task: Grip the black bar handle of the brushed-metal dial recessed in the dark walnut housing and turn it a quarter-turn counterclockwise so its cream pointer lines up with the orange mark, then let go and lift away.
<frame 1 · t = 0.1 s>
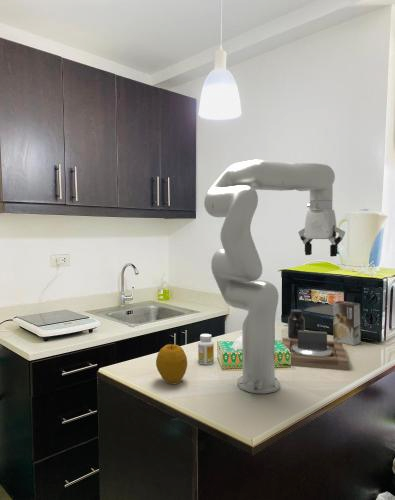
hand: (320, 255, 133), 37 cm above the worktop, tool pointing down, fingers open, 9 cm apart
dial: (312, 342, 138), point 5 cm above the worktop, hinge at 0.0°
supplement bottle: (296, 338, 162), on the worktop
supplement bottle 2: (206, 362, 134), on the worktop
dial housing: (312, 356, 139), on the worktop
apple: (171, 382, 117), on the worktop
coffee box: (346, 342, 156), on the worktop
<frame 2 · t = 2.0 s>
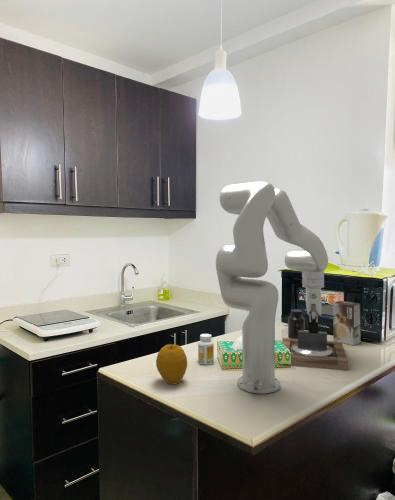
hand: (313, 329, 139), 10 cm above the worktop, tool pointing down, fingers open, 9 cm apart
nothing on the worktop moved.
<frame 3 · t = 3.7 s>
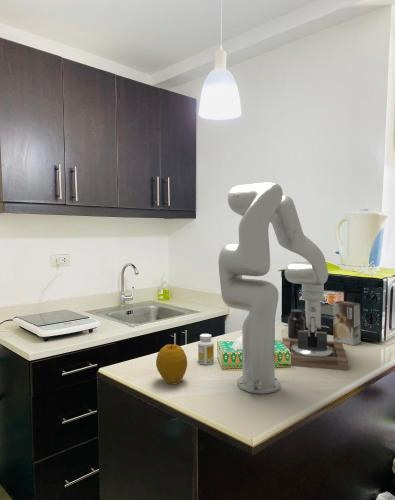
hand: (312, 345, 139), 4 cm above the worktop, tool pointing down, fingers closed on dial, 2 cm apart
dial: (312, 342, 138), point 5 cm above the worktop, hinge at 0.0°, touching gripper
everything else where it was.
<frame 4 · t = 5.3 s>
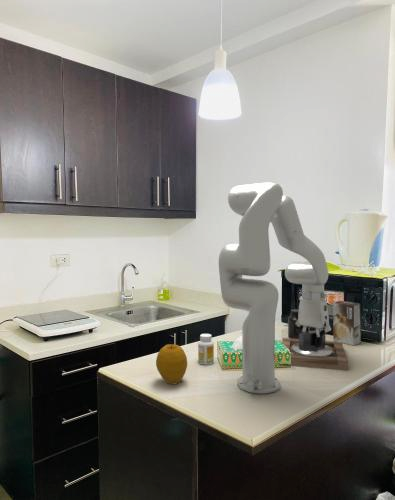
hand: (312, 345, 139), 4 cm above the worktop, tool pointing down, fingers closed on dial, 3 cm apart
dial: (312, 342, 138), point 5 cm above the worktop, hinge at 38.9°, touching gripper
everything else where it was.
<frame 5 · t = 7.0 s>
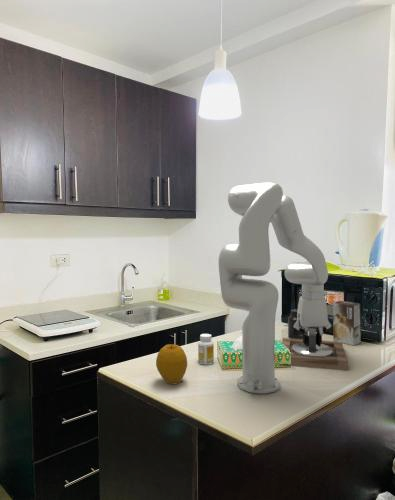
hand: (312, 344, 139), 4 cm above the worktop, tool pointing down, fingers closed on dial, 3 cm apart
dial: (312, 342, 138), point 5 cm above the worktop, hinge at 89.3°, touching gripper
everything else where it was.
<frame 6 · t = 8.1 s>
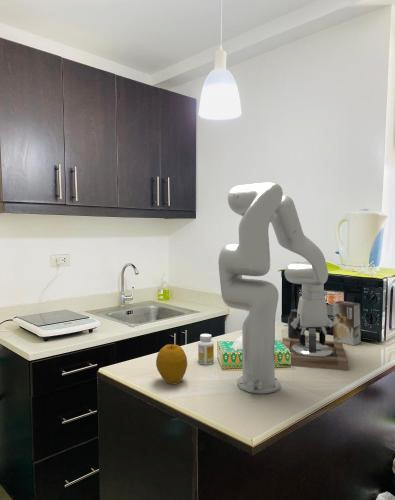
hand: (312, 344, 139), 5 cm above the worktop, tool pointing down, fingers open, 6 cm apart
dial: (312, 342, 138), point 5 cm above the worktop, hinge at 90.0°
everything else where it was.
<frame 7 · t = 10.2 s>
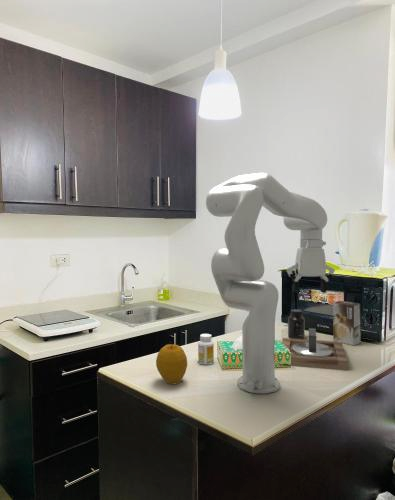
hand: (310, 292, 137), 24 cm above the worktop, tool pointing down, fingers open, 9 cm apart
nothing on the worktop moved.
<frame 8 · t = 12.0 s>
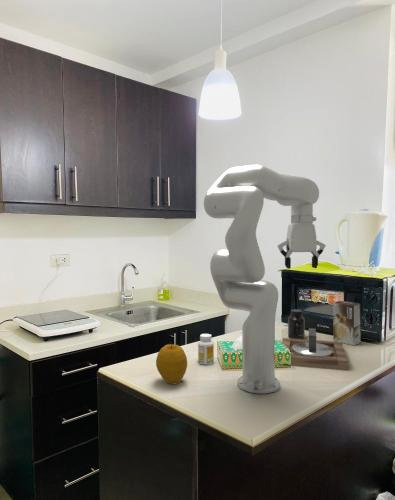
hand: (301, 268, 138), 32 cm above the worktop, tool pointing down, fingers open, 9 cm apart
nothing on the worktop moved.
at the end: dial at +90° (first picture: +0°); the gripper is holding nothing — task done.
